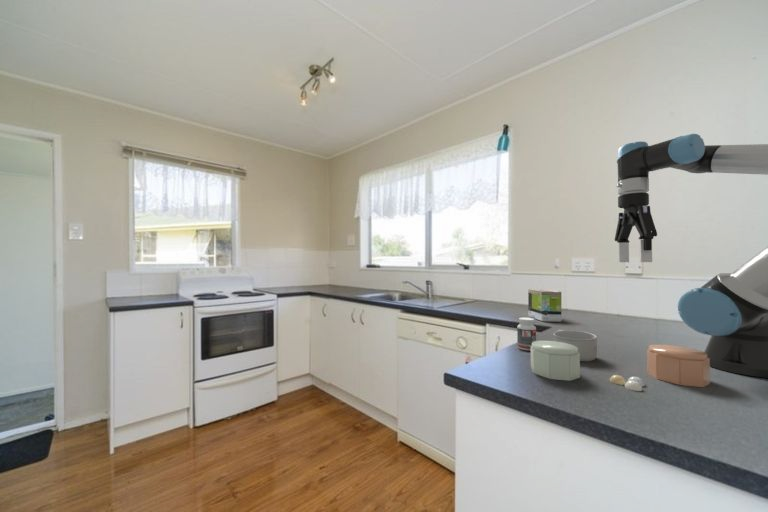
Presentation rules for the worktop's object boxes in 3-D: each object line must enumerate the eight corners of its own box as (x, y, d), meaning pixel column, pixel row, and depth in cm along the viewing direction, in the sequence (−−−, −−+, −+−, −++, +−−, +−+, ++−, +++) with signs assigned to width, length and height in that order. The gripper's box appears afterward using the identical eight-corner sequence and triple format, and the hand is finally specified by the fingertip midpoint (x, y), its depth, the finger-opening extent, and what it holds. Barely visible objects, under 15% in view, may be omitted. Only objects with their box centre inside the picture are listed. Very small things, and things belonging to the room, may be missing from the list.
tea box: (562, 321, 150) (562, 291, 150) (541, 321, 150) (541, 291, 151) (546, 316, 165) (546, 288, 165) (527, 316, 165) (527, 288, 166)
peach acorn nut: (689, 378, 76) (688, 346, 77) (720, 395, 67) (719, 357, 67) (640, 374, 79) (640, 343, 79) (664, 390, 70) (663, 354, 70)
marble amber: (622, 386, 71) (622, 373, 71) (628, 392, 68) (628, 378, 68) (607, 385, 72) (607, 372, 72) (613, 390, 69) (612, 377, 69)
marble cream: (638, 393, 68) (637, 379, 68) (645, 398, 65) (645, 384, 65) (622, 391, 69) (622, 377, 69) (628, 397, 66) (628, 382, 66)
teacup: (605, 369, 83) (604, 339, 84) (560, 366, 86) (560, 337, 86) (582, 354, 97) (582, 328, 97) (545, 352, 99) (545, 326, 99)
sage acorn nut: (570, 373, 80) (570, 342, 80) (584, 388, 70) (584, 353, 70) (528, 369, 83) (528, 339, 83) (536, 383, 73) (535, 349, 73)
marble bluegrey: (640, 388, 70) (640, 375, 70) (647, 393, 67) (647, 380, 68) (624, 387, 71) (624, 373, 71) (631, 392, 68) (631, 378, 68)
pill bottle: (537, 351, 99) (536, 320, 99) (517, 350, 101) (517, 319, 102) (535, 347, 105) (535, 317, 105) (517, 345, 107) (517, 316, 107)
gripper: (602, 202, 110) (603, 262, 109) (639, 185, 86) (640, 262, 85) (627, 201, 108) (628, 262, 107) (672, 183, 84) (674, 262, 83)
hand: (634, 262), depth 96 cm, fingers open, 13 cm apart
